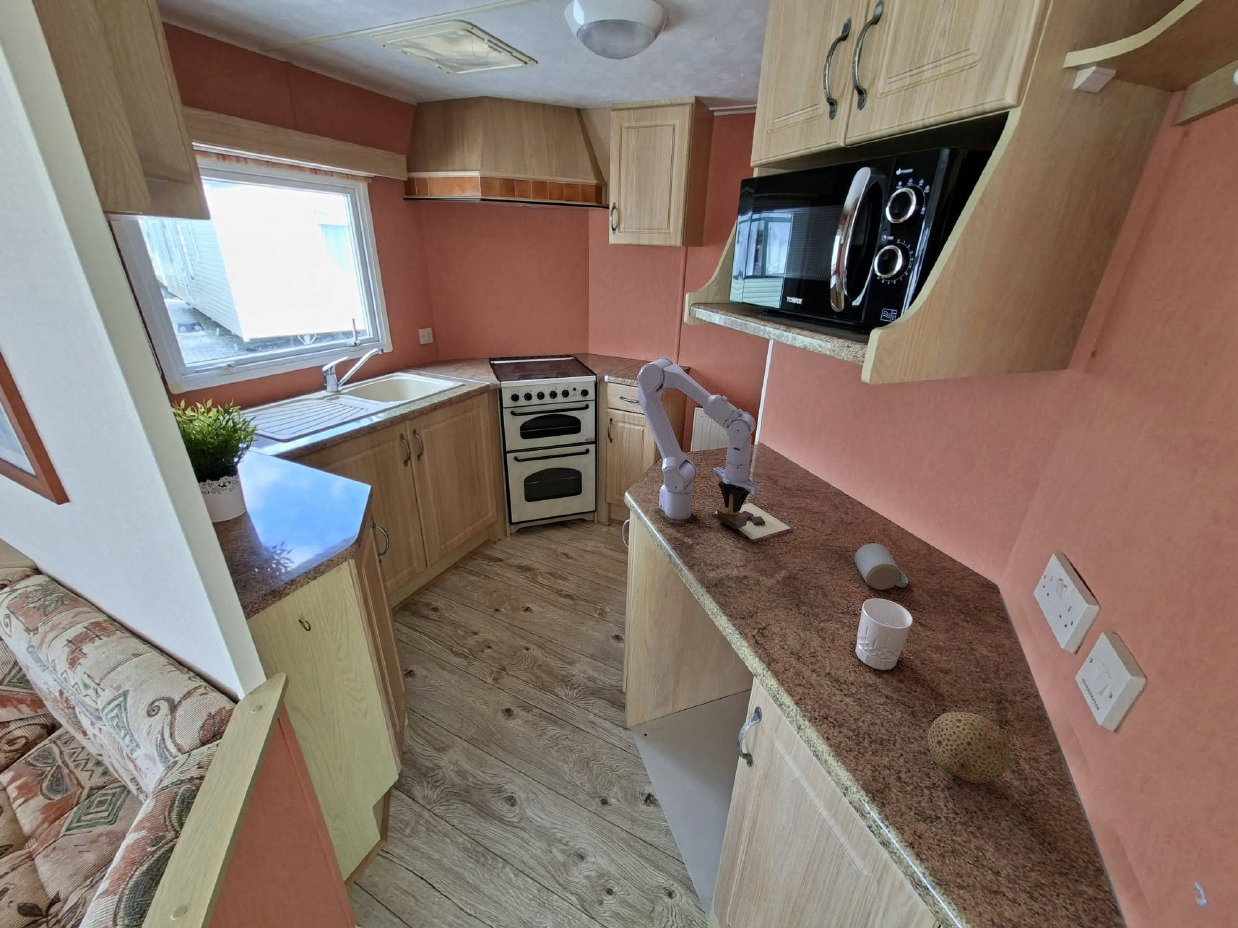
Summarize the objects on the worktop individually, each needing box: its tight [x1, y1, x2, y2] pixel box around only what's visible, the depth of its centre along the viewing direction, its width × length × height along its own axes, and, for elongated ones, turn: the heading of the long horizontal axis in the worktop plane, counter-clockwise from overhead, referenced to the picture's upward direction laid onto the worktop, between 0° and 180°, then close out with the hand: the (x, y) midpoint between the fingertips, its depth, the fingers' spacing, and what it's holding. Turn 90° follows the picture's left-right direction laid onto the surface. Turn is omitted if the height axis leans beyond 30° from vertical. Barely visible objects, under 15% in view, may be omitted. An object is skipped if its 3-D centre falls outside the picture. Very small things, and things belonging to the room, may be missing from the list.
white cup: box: [855, 598, 914, 671], centre depth 88 cm, size 8×8×10 cm
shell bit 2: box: [750, 516, 765, 525], centre depth 132 cm, size 3×3×1 cm
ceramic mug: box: [853, 542, 909, 591], centre depth 109 cm, size 11×8×8 cm
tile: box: [714, 502, 791, 540], centre depth 134 cm, size 16×13×1 cm
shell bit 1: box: [741, 511, 754, 521], centre depth 135 cm, size 3×3×1 cm
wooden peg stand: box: [716, 492, 747, 530], centre depth 129 cm, size 7×4×8 cm, turn 33°
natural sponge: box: [927, 711, 1011, 784], centre depth 68 cm, size 9×9×10 cm
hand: (732, 508), depth 129 cm, fingers closed on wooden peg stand, 2 cm apart
